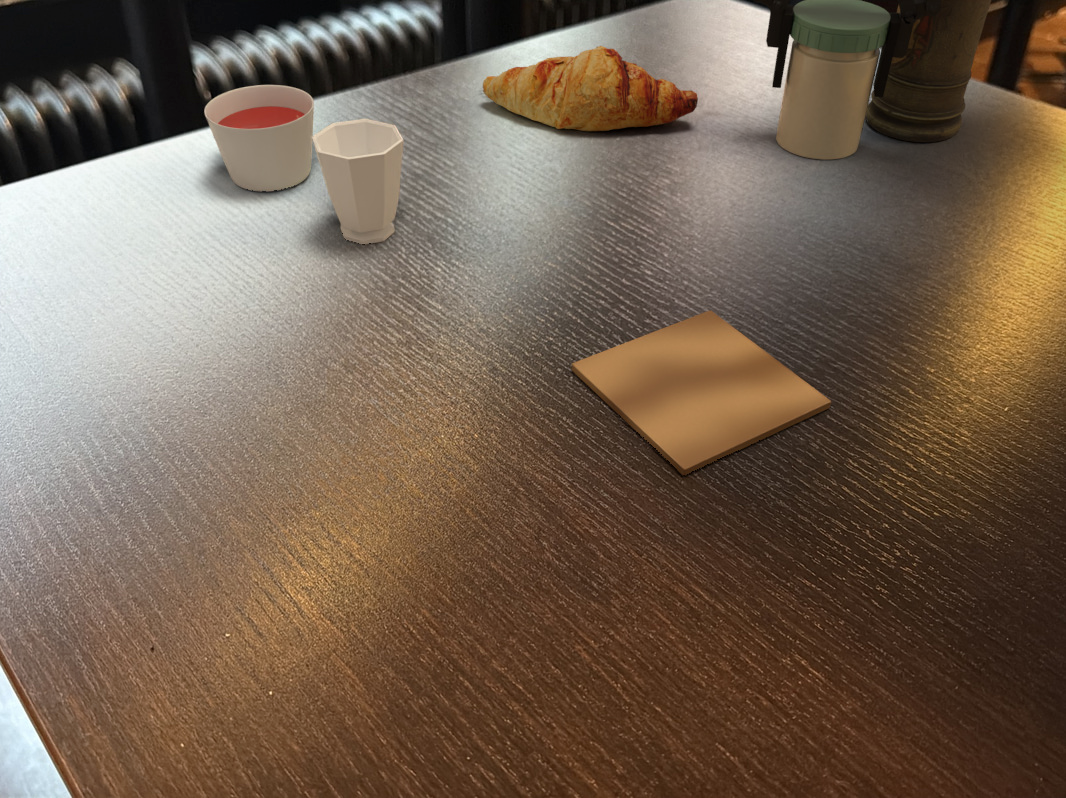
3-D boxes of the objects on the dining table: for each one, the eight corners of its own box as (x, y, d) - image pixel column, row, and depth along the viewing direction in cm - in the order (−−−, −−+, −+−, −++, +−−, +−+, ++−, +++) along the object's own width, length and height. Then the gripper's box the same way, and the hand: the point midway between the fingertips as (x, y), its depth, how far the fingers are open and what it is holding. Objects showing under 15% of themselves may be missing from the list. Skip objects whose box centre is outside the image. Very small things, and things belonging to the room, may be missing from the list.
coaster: (830, 408, 64) (832, 401, 64) (683, 476, 59) (684, 469, 59) (709, 316, 72) (710, 309, 72) (571, 370, 67) (571, 363, 67)
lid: (907, 42, 87) (912, 18, 85) (835, 60, 83) (840, 36, 82) (838, 13, 92) (842, -9, 91) (768, 29, 89) (772, 6, 88)
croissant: (477, 148, 100) (463, 94, 93) (496, 68, 104) (485, 11, 96) (690, 166, 96) (693, 112, 89) (702, 83, 100) (706, 24, 93)
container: (940, 103, 101) (995, -89, 89) (974, 143, 94) (1037, -60, 82) (853, 104, 101) (896, -89, 89) (879, 144, 94) (930, -60, 82)
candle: (218, 204, 84) (202, 133, 80) (219, 156, 91) (205, 89, 87) (326, 193, 85) (316, 123, 81) (319, 147, 92) (310, 81, 88)
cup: (315, 251, 78) (300, 156, 73) (340, 190, 86) (329, 100, 81) (404, 255, 78) (396, 159, 73) (422, 193, 86) (415, 103, 80)
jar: (875, 146, 93) (903, 33, 86) (818, 167, 90) (842, 50, 83) (815, 117, 98) (837, 7, 91) (758, 136, 95) (777, 23, 88)
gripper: (1023, -205, 77) (944, 81, 92) (747, -216, 81) (714, 61, 95) (1038, -188, 71) (952, 114, 86) (741, -200, 75) (706, 91, 90)
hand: (827, 86), depth 91 cm, fingers closed on lid, 8 cm apart
